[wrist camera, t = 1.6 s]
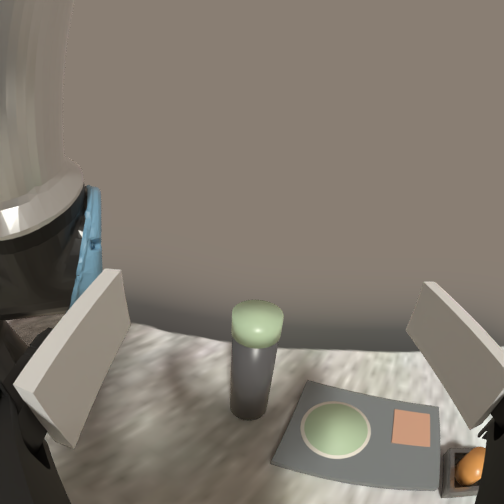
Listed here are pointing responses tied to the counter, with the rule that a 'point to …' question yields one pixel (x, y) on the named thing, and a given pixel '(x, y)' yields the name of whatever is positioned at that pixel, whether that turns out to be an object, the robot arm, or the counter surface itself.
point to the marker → (253, 356)
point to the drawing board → (362, 440)
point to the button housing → (449, 474)
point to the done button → (470, 467)
